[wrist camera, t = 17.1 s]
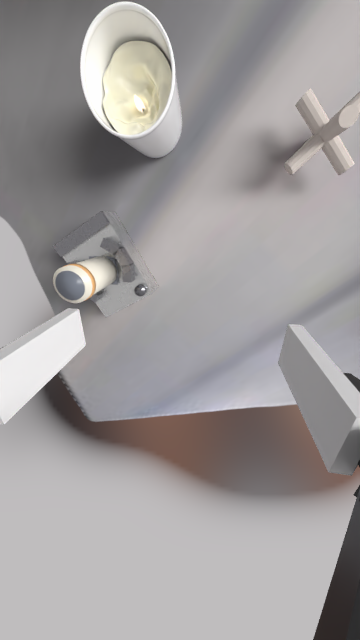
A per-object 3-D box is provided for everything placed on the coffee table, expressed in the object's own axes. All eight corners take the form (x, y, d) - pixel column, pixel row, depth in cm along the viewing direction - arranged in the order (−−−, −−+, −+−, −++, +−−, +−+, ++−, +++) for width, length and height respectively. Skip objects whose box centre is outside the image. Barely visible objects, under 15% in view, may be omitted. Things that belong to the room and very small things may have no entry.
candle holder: (123, 160, 35) (82, 132, 24) (124, 76, 30) (75, -4, 20) (182, 168, 34) (169, 143, 23) (192, 83, 30) (180, 4, 19)
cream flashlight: (93, 283, 39) (55, 303, 30) (88, 254, 37) (47, 265, 27) (120, 285, 38) (91, 305, 29) (117, 255, 36) (84, 267, 27)
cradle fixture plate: (72, 243, 41) (46, 247, 35) (115, 212, 38) (96, 210, 32) (116, 308, 46) (100, 321, 40) (158, 285, 43) (149, 296, 36)
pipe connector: (296, 203, 34) (326, 196, 25) (258, 147, 32) (276, 118, 23) (362, 146, 30) (426, 114, 21) (324, 79, 28) (377, 11, 19)
